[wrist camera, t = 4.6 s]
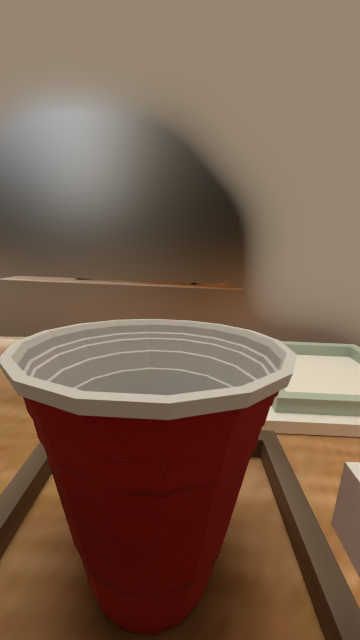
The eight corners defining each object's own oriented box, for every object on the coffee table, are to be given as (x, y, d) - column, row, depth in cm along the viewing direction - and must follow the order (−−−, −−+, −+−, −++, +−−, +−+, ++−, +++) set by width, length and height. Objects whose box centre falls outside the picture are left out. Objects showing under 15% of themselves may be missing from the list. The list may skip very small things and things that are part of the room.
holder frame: (-305, 967, 6) (-334, 938, 6) (58, 436, 23) (56, 420, 22) (521, 1027, 6) (548, 1000, 5) (271, 446, 23) (273, 430, 22)
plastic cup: (223, 467, 20) (238, 305, 17) (311, 699, 10) (387, 394, 7) (66, 479, 19) (53, 303, 16) (-24, 769, 8) (-113, 414, 5)
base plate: (263, 432, 24) (266, 404, 24) (230, 353, 43) (231, 336, 42) (483, 443, 24) (493, 415, 23) (354, 358, 43) (358, 341, 42)
